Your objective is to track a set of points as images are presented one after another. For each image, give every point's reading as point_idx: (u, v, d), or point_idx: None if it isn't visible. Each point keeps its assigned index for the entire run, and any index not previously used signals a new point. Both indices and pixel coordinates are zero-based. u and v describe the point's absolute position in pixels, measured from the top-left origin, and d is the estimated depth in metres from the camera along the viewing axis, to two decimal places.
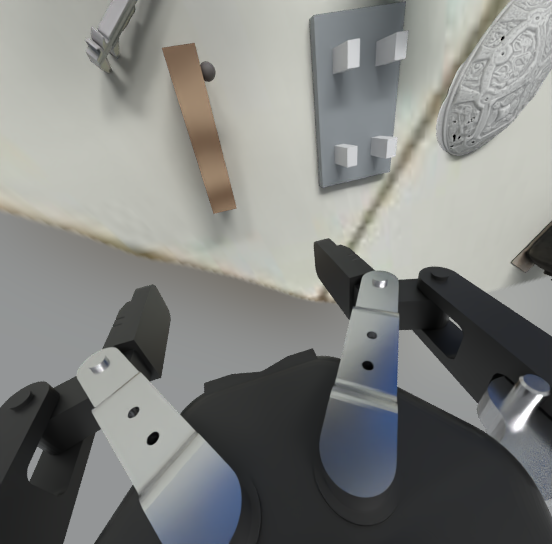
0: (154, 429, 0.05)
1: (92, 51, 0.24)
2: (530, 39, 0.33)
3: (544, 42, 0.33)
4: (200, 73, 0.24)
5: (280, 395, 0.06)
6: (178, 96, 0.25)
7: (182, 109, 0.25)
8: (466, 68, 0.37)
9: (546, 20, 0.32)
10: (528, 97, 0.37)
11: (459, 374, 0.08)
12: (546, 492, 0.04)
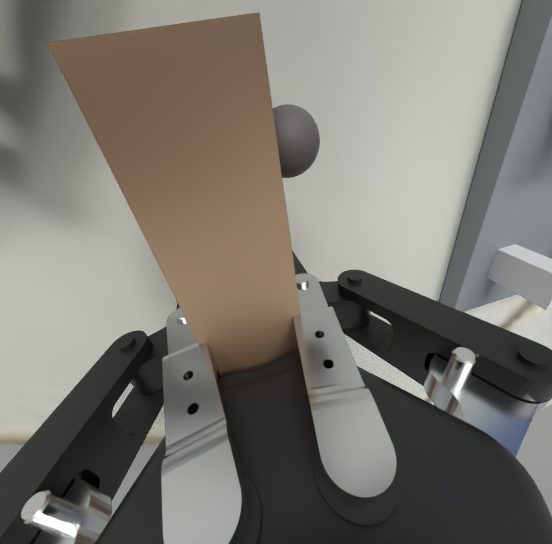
0: (197, 400, 0.05)
1: None
2: None
3: None
4: (272, 169, 0.05)
5: (280, 395, 0.06)
6: (166, 264, 0.05)
7: (184, 302, 0.06)
8: None
9: None
10: None
11: (397, 362, 0.08)
12: (511, 450, 0.05)
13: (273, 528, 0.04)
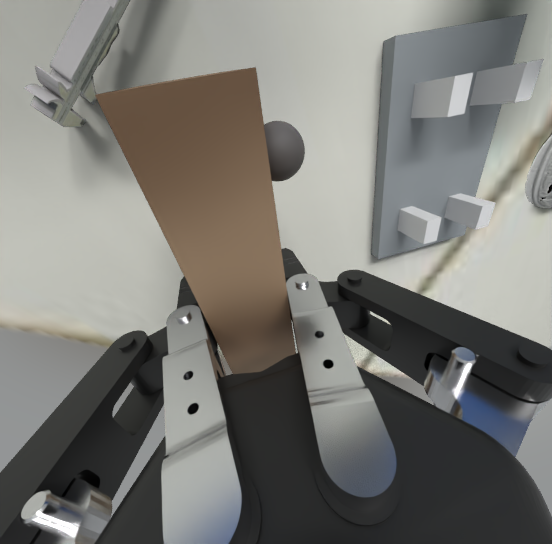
0: (197, 400, 0.05)
1: (42, 104, 0.14)
2: None
3: None
4: (265, 182, 0.06)
5: (280, 395, 0.06)
6: (180, 255, 0.07)
7: (193, 284, 0.08)
8: None
9: None
10: None
11: (397, 363, 0.08)
12: (511, 450, 0.05)
13: (273, 528, 0.04)
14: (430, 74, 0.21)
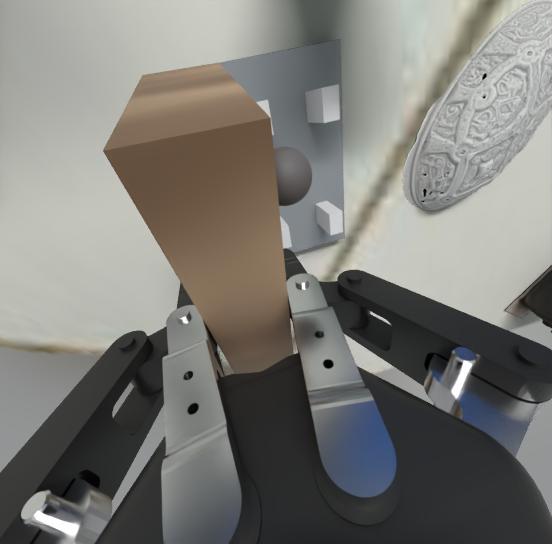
0: (196, 400, 0.05)
1: None
2: (519, 81, 0.25)
3: (538, 86, 0.25)
4: (273, 218, 0.06)
5: (280, 395, 0.06)
6: (187, 284, 0.07)
7: (200, 306, 0.08)
8: (438, 110, 0.28)
9: (541, 57, 0.24)
10: (516, 150, 0.29)
11: (397, 362, 0.08)
12: (511, 450, 0.05)
13: (273, 528, 0.04)
14: (256, 96, 0.23)
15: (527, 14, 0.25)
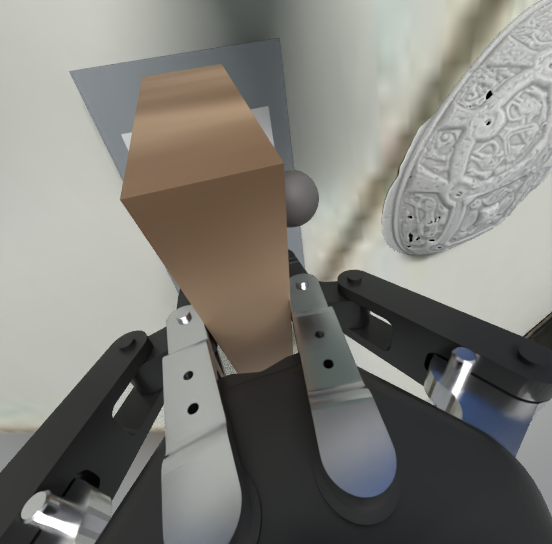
0: (197, 400, 0.05)
1: None
2: (537, 103, 0.18)
3: None
4: (281, 246, 0.06)
5: (280, 395, 0.06)
6: (196, 304, 0.07)
7: (207, 321, 0.08)
8: (427, 137, 0.21)
9: None
10: (529, 191, 0.22)
11: (397, 362, 0.08)
12: (511, 450, 0.05)
13: (273, 528, 0.04)
14: None
15: (549, 11, 0.18)
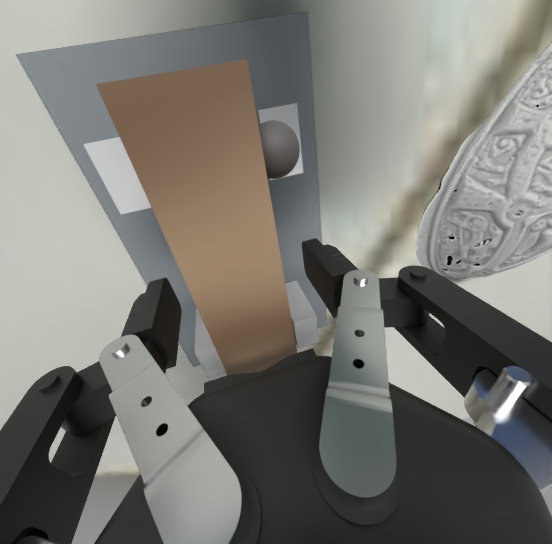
0: (164, 421, 0.05)
1: None
2: None
3: None
4: (260, 172, 0.06)
5: (280, 395, 0.06)
6: (176, 249, 0.07)
7: (190, 280, 0.07)
8: (478, 144, 0.17)
9: None
10: None
11: (444, 369, 0.08)
12: (539, 482, 0.04)
13: (273, 528, 0.04)
14: None
15: None
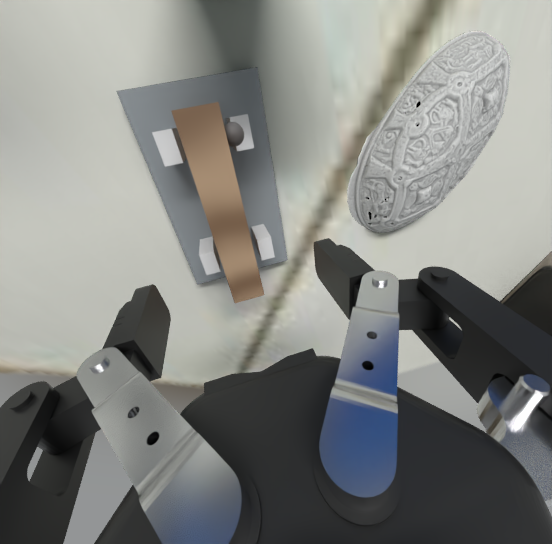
0: (154, 429, 0.05)
1: None
2: (451, 111, 0.25)
3: (469, 116, 0.25)
4: (225, 141, 0.17)
5: (280, 395, 0.06)
6: (193, 171, 0.17)
7: (198, 187, 0.18)
8: (376, 135, 0.28)
9: (470, 88, 0.24)
10: (456, 178, 0.29)
11: (459, 374, 0.08)
12: (546, 492, 0.04)
13: (273, 528, 0.04)
14: (173, 122, 0.22)
15: (459, 45, 0.25)
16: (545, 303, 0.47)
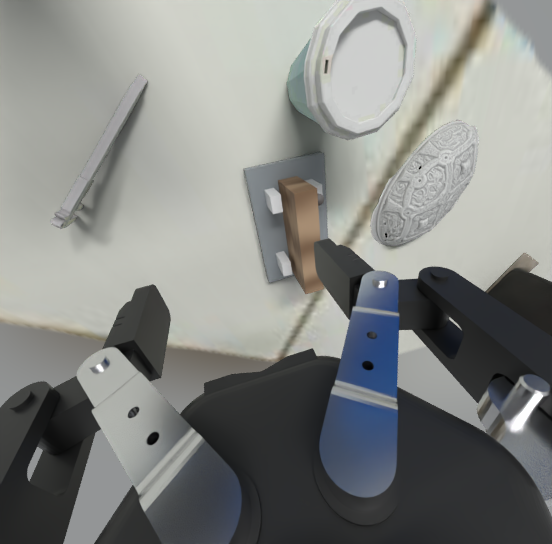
0: (154, 429, 0.05)
1: None
2: (440, 173, 0.39)
3: (452, 177, 0.40)
4: (317, 205, 0.32)
5: (280, 395, 0.06)
6: (298, 221, 0.32)
7: (299, 229, 0.33)
8: (392, 185, 0.43)
9: (452, 160, 0.39)
10: (444, 212, 0.43)
11: (459, 375, 0.08)
12: (546, 492, 0.04)
13: (273, 528, 0.04)
14: (272, 185, 0.37)
15: (446, 131, 0.40)
16: (514, 296, 0.62)
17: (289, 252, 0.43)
